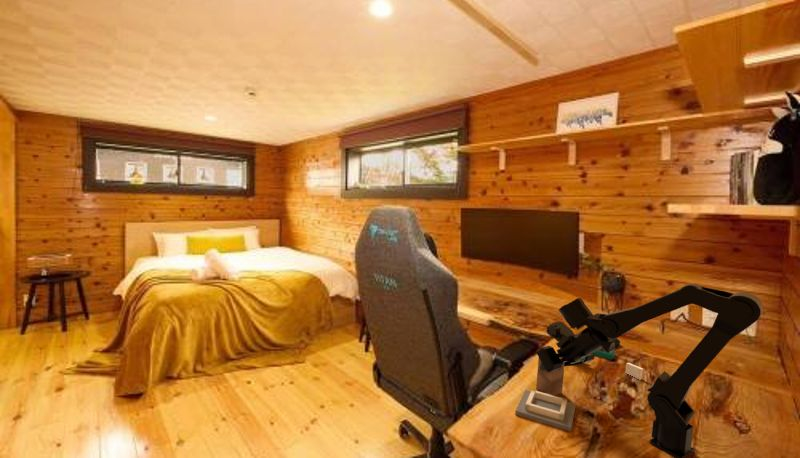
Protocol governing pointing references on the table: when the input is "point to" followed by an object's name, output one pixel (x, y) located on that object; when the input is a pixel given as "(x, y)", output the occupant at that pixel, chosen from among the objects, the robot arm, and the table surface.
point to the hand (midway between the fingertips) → (546, 366)
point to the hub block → (550, 380)
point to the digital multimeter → (604, 353)
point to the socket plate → (546, 409)
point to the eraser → (634, 371)
